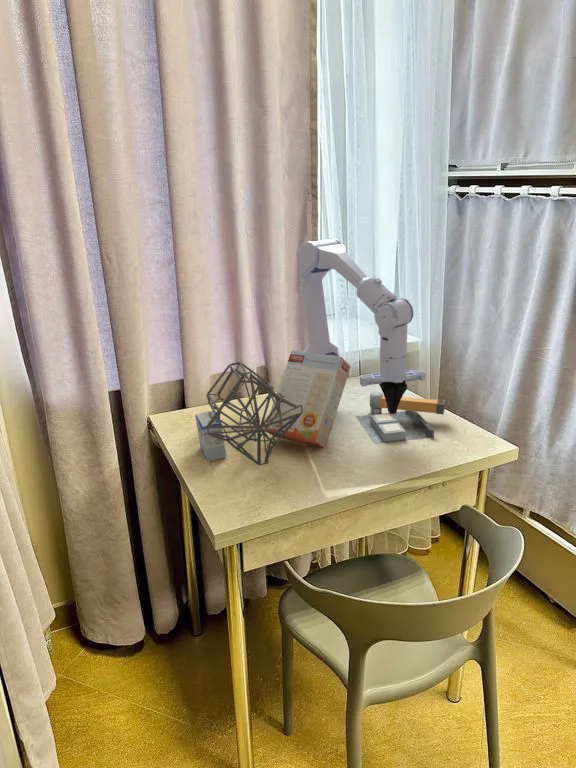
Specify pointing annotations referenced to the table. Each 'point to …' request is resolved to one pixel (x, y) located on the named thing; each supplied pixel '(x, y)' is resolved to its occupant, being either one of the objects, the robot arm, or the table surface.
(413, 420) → the tray
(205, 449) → the medicine box
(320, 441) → the cracker box
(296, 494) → the table surface
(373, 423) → the block
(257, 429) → the geometric lantern
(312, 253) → the robot arm
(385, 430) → the module
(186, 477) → the table surface
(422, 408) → the swing bar
